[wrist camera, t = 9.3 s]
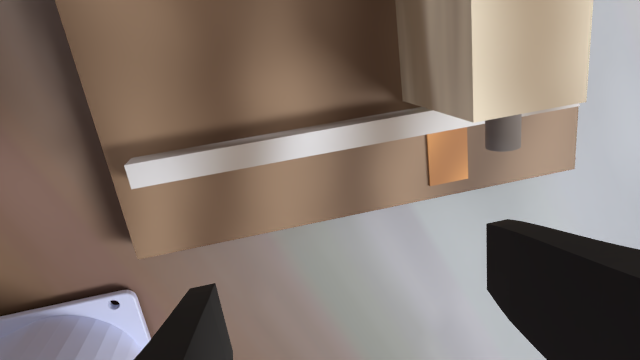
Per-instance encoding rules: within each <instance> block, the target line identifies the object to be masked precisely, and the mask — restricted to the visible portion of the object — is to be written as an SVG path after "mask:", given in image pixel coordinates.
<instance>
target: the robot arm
mask: <svg viewBox="0 0 640 360" xmlns="http://www.w3.org/2000/svg"><path fill="white" fill-rule="evenodd" d="M487 290H488V291H489V293H490V294H491V296H492V297H493V299H494V300H495V301H496V303H497V304H498V306H499V307H500V308H501V310H502V311H503V312H504V314H505V315H506V316H507V318H508V319H509V320H510V321H511V322H512V324H513V325H514V326H515V327H516V328H517V329H518V330H519V331H520V332H521V333H522V334H523V335H524V336H525V337H526V338H527V339H528V341H529V342H530V343H531V344H532V345H533V346H534V347H535V348H536V349H537V350H538V351H539V352H540V353H541V354H542V355H543V356H544V357H545V358H546V359H547V360H640V250H638V249H634V248H629V247H625V246H620V245H616V244H611V243H607V242H603V241H599V240H595V239H591V238H587V237H583V236H579V235H575V234H571V233H567V232H563V231H559V230H555V229H552V228H548V227H544V226H540V225H535V224H531V223H527V222H522V221H516V220H509V219H507V220H502V221H498V222H493V223H488V224H487ZM112 300H116V301H118V302H119V303H120V304H119V305H114V304H112V303H111V302H110V301H112ZM0 360H233V350H232V347H231V343H230V339H229V335H228V331H227V327H226V323H225V319H224V316H223V312H222V308H221V304H220V300H219V296H218V292H217V288H216V284H215V283H214V284H210V285H205V286H200V287H196V288H191V289H189V291H188V292H187V293H186V294H185V296H184V297H183V298H182V300H181V301H180V302H179V304H178V305H177V306H176V308H175V309H174V310H173V312H172V313H171V314H170V316H169V317H168V318H167V320H166V321H165V322H164V323H163V325H162V326H161V327H160V329H159V330H158V331H157V332H156V334H155V335H154V336H153V337H152V339H151V337H150V334H149V331H148V328H147V325H146V322H145V319H144V316H143V313H142V310H141V307H140V304H139V301H138V298H137V296H136V294H135V293H134V292H133V291H131V290H121V291H116V292H111V293H107V294H102V295H97V296H93V297H88V298H84V299H79V300H74V301H70V302H65V303H60V304H56V305H51V306H47V307H42V308H37V309H33V310H28V311H23V312H19V313H14V314H10V315H5V316H0Z"/></svg>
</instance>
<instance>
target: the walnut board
mask: <svg viewBox="0 0 640 360" xmlns="http://www.w3.org/2000/svg"><path fill="white" fill-rule="evenodd" d="M55 3H56V6H57V9H58V12H59V15H60V18H61V22H62V25H63V28H64V31H65V34H66V37H67V40H68V43H69V47H70V50H71V53H72V56H73V59H74V62H75V65H76V68H77V72H78V75H79V78H80V81H81V84H82V87H83V90H84V93H85V96H86V100H87V103H88V106H89V109H90V112H91V115H92V118H93V121H94V125H95V128H96V131H97V134H98V137H99V140H100V143H101V146H102V150H103V153H104V156H105V159H106V162H107V165H108V168H109V171H110V175H111V178H112V181H113V184H114V187H115V190H116V193H117V196H118V199H119V203H120V206H121V209H122V212H123V215H124V218H125V221H126V224H127V228H128V231H129V234H130V237H131V240H132V243H133V246H134V249H135V253H136V256H137V259H143V258H148V257H153V256H158V255H162V254H167V253H172V252H177V251H182V250H186V249H191V248H196V247H201V246H206V245H210V244H215V243H220V242H225V241H230V240H235V239H239V238H244V237H249V236H254V235H259V234H263V233H268V232H273V231H278V230H283V229H287V228H292V227H297V226H302V225H307V224H312V223H316V222H321V221H326V220H331V219H336V218H340V217H345V216H350V215H355V214H360V213H364V212H369V211H374V210H379V209H384V208H388V207H393V206H398V205H403V204H408V203H413V202H417V201H422V200H427V199H432V198H437V197H441V196H446V195H451V194H456V193H461V192H465V191H470V190H475V189H480V188H485V187H489V186H494V185H499V184H504V183H509V182H514V181H518V180H523V179H528V178H533V177H538V176H542V175H547V174H552V173H557V172H562V171H566V170H571V169H574V168H575V152H576V137H577V121H578V106H580V103H578V104H572V105H567V106H562V107H556V108H551V109H545V110H540V111H535V112H529V113H524V114H522V120H521V148H519V149H517V150H513V151H505V152H498V151H490V150H487V149H486V148H485V121H480V122H475V123H473V122H469V121H466V120H463V119H460V118H456V117H453V116H450V115H447V114H443V113H440V112H437V111H434V110H430V109H427V108H424V107H421V106H418V105H414V104H411V103H408V102H405V101H403V98H402V85H401V71H400V58H399V44H398V31H397V17H396V4H395V0H55Z"/></svg>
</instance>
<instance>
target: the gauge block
mask: <svg viewBox="0 0 640 360" xmlns="http://www.w3.org/2000/svg"><path fill="white" fill-rule="evenodd" d="M395 4H396V17H397V31H398V44H399V58H400V71H401V85H402V98H403V101H405V102H408V103H411V104H414V105H418V106H421V107H424V108H427V109H430V110H434V111H437V112H440V113H443V114H447V115H450V116H453V117H456V118H460V119H463V120H466V121H469V122H473V123H475V122H480V121H485V148H486V149H487V150H490V151H498V152H505V151H513V150H517V149H519V148H521V120H522V114H524V113H529V112H535V111H540V110H545V109H551V108H556V107H562V106H567V105H572V104H578V103H583V102H586V98H587V83H588V69H589V54H590V40H591V25H592V11H593V0H395Z"/></svg>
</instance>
